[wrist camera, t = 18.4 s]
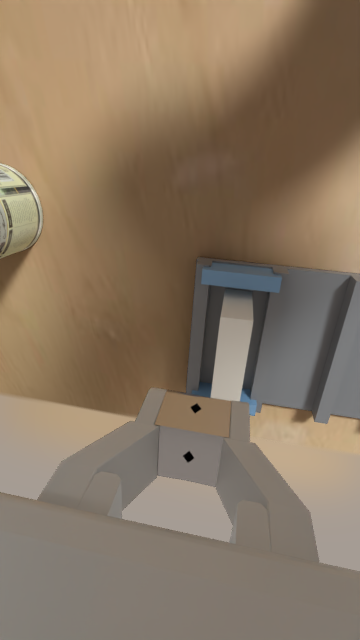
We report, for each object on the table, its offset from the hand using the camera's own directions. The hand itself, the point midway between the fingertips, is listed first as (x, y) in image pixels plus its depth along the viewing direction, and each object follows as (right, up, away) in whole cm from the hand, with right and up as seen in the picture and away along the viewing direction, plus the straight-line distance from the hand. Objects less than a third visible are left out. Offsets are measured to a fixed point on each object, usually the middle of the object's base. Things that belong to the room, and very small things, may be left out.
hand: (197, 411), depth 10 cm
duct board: (+14, 0, +30) cm, 33 cm away
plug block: (+6, +1, +30) cm, 30 cm away
